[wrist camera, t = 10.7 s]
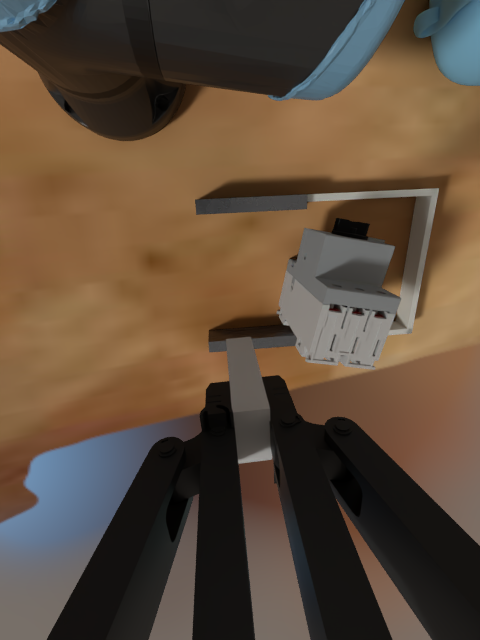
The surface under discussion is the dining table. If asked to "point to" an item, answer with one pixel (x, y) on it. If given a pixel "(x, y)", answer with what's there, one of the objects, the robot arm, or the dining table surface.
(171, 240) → the dining table surface
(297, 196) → the dark gray open bay
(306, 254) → the circuit breaker
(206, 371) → the dining table surface
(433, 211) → the parts bay
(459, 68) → the decorative pot
